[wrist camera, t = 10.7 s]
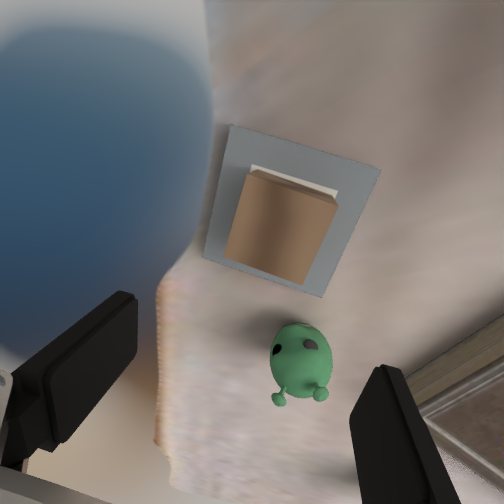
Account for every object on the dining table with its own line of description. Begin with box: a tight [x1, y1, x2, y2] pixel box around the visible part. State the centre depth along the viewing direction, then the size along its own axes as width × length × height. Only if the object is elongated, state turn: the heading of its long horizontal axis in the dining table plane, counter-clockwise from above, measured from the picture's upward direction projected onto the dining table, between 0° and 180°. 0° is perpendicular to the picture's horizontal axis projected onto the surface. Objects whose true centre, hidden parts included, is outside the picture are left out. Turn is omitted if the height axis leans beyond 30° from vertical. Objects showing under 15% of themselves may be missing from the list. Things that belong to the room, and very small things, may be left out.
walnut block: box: [223, 169, 339, 286], centre depth 24 cm, size 7×7×5 cm
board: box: [202, 124, 382, 298], centre depth 27 cm, size 14×14×3 cm
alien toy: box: [270, 323, 333, 406], centre depth 29 cm, size 7×8×10 cm
